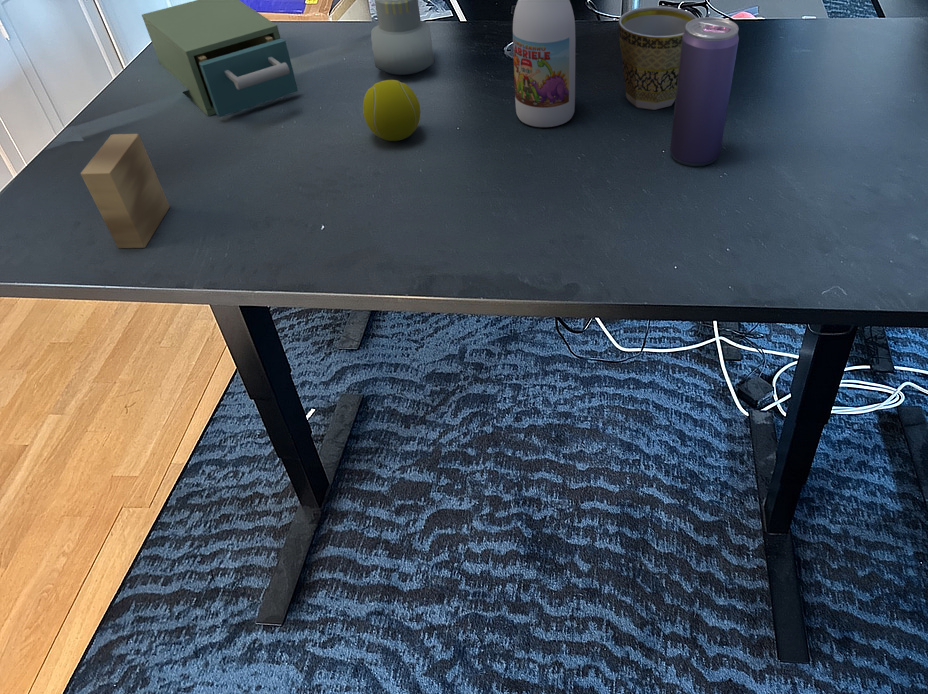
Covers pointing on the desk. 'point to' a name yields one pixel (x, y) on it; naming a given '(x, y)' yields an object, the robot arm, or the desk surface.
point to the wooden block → (126, 190)
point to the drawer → (246, 74)
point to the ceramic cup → (652, 54)
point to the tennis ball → (391, 110)
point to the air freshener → (401, 38)
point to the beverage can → (703, 89)
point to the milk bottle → (544, 62)
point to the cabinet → (201, 37)
